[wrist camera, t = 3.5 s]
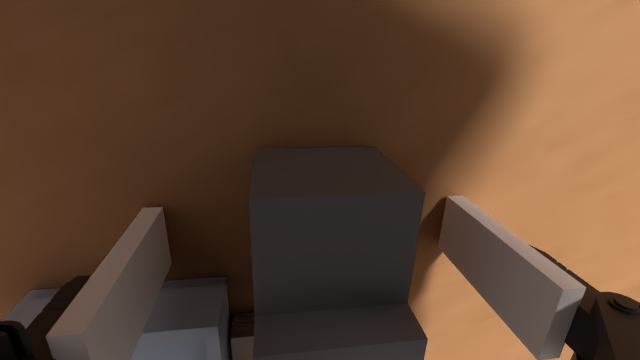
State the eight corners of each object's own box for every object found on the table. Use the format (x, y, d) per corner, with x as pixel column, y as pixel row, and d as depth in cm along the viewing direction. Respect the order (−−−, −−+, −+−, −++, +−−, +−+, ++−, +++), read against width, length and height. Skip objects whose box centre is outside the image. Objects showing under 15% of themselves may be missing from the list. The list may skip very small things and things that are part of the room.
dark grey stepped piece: (254, 147, 14) (245, 226, 8) (373, 146, 14) (451, 216, 8) (259, 288, 16) (256, 430, 10) (361, 280, 17) (414, 409, 11)
